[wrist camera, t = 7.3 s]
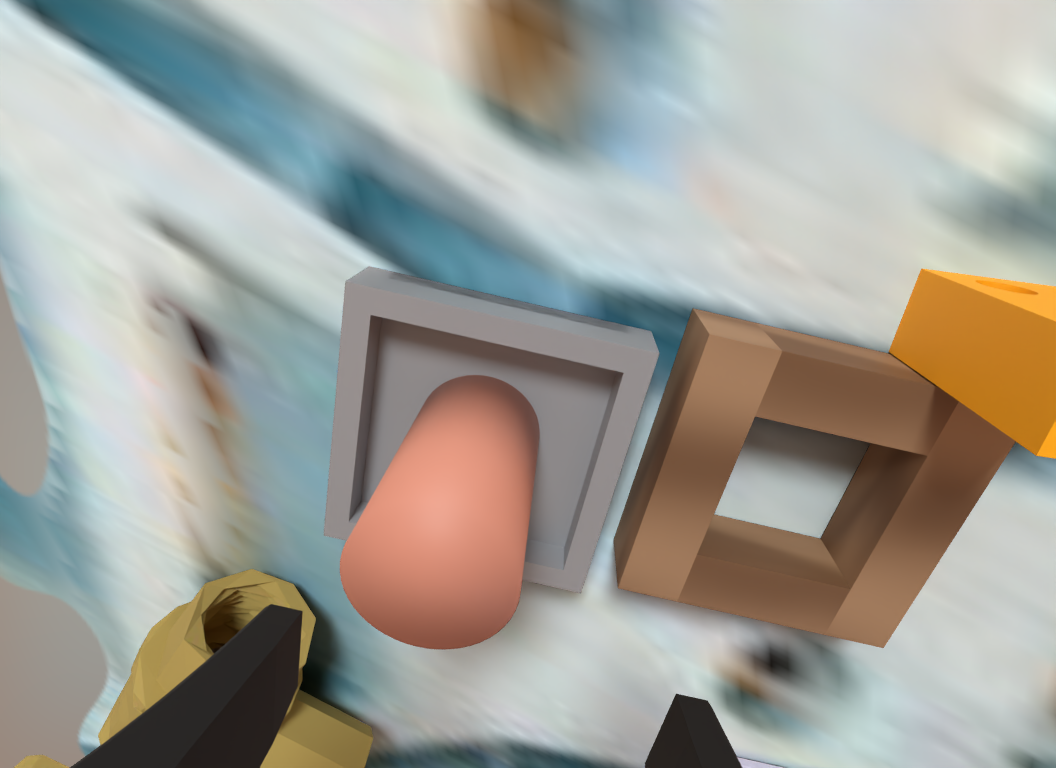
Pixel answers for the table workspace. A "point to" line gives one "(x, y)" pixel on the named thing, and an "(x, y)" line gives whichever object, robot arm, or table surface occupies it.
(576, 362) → the tray
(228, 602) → the ball valve
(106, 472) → the table surface
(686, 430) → the square frame
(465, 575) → the plug
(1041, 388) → the pipe clamp
